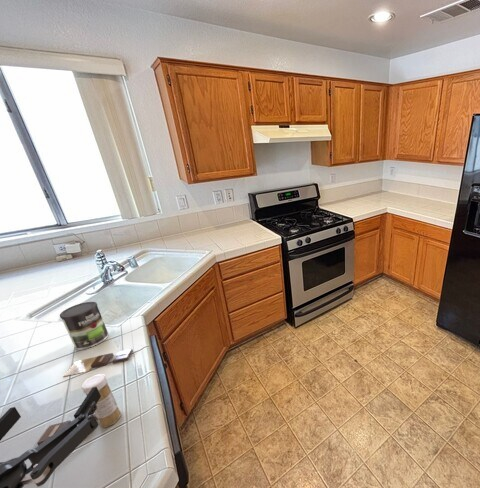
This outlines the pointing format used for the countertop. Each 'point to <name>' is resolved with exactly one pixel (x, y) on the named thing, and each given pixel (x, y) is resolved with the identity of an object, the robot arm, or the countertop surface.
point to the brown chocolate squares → (54, 430)
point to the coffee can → (84, 325)
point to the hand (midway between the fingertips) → (57, 401)
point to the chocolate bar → (97, 362)
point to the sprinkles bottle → (103, 400)
